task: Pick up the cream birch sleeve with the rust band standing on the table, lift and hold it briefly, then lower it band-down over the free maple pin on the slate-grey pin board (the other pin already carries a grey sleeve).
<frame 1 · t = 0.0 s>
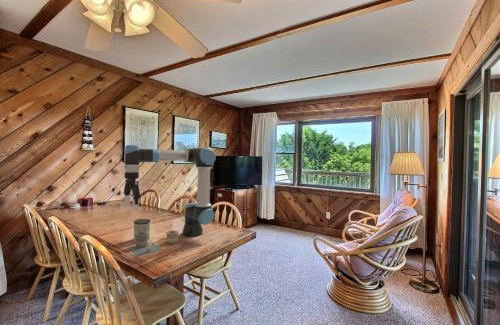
hand: (131, 208, 150), 28 cm above the table, fingers open, 13 cm apart
cream sleeve: (172, 244, 171), on the table
pin board: (145, 250, 159), on the table
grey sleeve: (141, 246, 163), point 1 cm above the table, touching pin board
coffee can: (142, 241, 175), on the table
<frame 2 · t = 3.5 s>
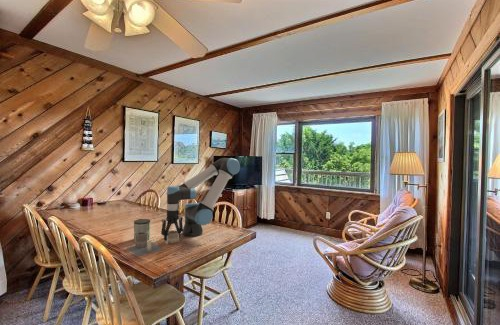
hand: (172, 243, 171), 0 cm above the table, fingers open, 7 cm apart
cream sleeve: (172, 244, 171), on the table, touching gripper
everything else where it was.
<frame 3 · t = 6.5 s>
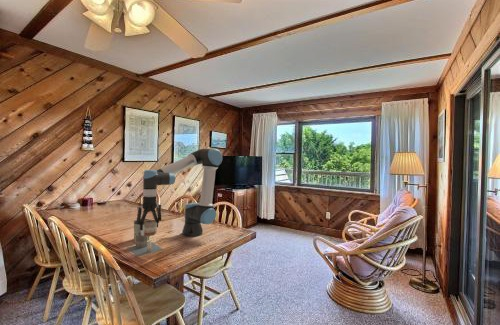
hand: (148, 234, 154), 12 cm above the table, fingers closed on cream sleeve, 7 cm apart
cream sleeve: (148, 234, 154), point 12 cm above the table, touching gripper
everything else where it was.
when the fingers open (3 cm above the table, at t = 8.7 s): cream sleeve drops 1 cm, resting on pin board.
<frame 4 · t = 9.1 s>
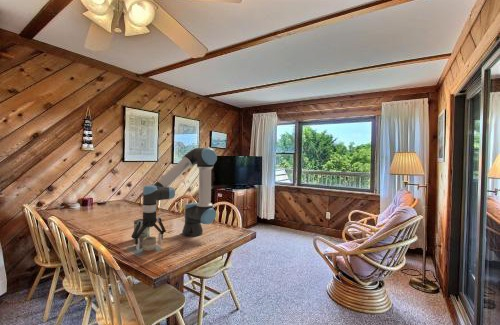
hand: (149, 246, 154), 4 cm above the table, fingers open, 13 cm apart
cream sleeve: (149, 251, 154), point 1 cm above the table, touching pin board
everything else where it was.
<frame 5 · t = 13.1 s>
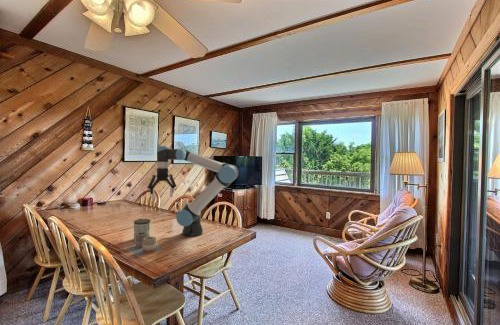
hand: (162, 197, 182), 29 cm above the table, fingers open, 13 cm apart
nothing on the table moved.
at the end: cream sleeve 0.0 cm from the target spot on the pin board, point 1.2 cm above the pin board's base; cream sleeve tilted 0°; the gripper is holding nothing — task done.
